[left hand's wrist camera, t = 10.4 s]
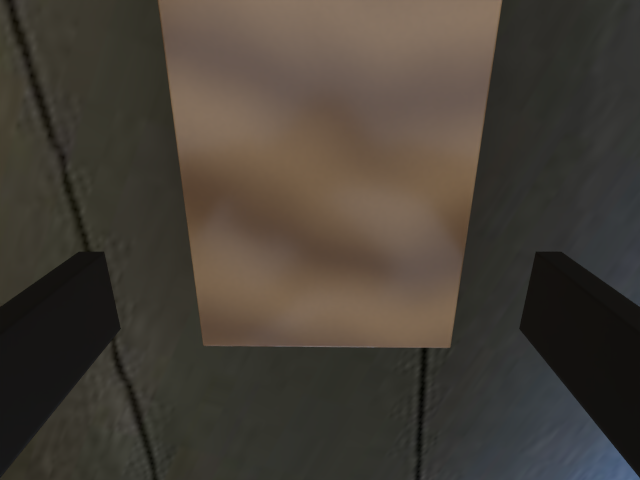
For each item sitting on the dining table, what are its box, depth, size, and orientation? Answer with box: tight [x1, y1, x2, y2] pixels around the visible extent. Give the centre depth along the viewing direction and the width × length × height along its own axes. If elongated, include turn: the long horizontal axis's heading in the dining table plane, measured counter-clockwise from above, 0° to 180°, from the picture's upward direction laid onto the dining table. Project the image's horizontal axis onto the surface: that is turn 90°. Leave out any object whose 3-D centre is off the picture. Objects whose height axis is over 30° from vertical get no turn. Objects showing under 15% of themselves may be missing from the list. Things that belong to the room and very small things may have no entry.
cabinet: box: [158, 0, 502, 348], centre depth 17 cm, size 21×10×9 cm, turn 0°
